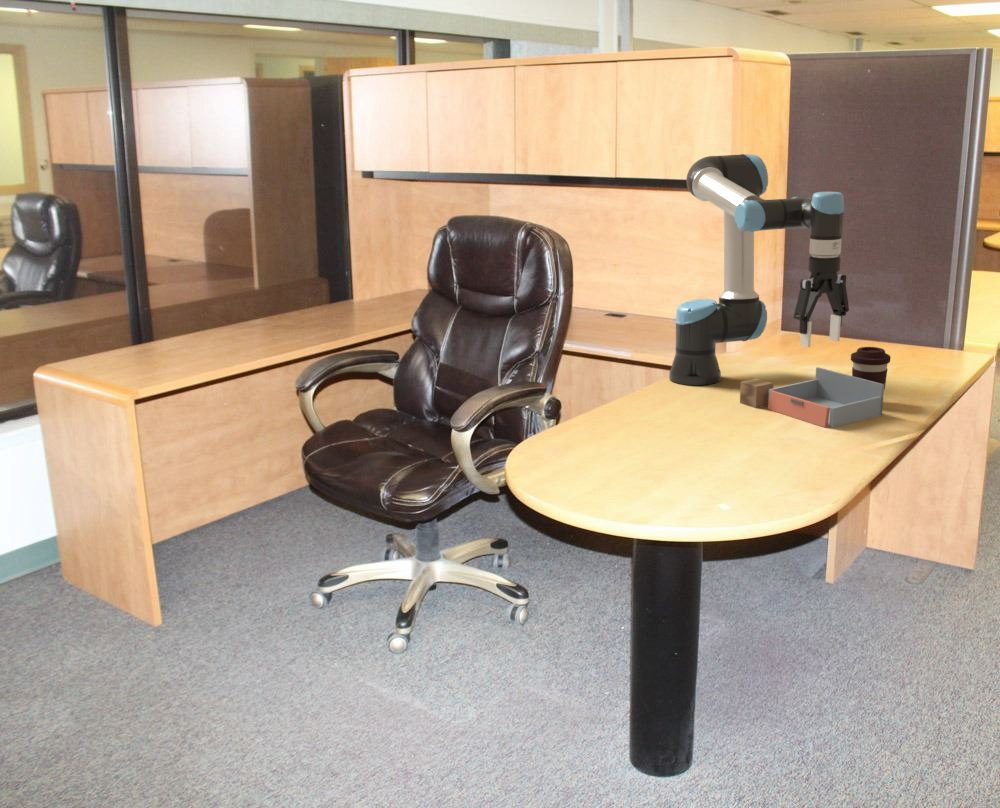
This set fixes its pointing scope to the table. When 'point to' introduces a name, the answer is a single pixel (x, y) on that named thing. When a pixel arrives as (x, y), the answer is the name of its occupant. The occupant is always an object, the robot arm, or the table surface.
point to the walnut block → (755, 392)
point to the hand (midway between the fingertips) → (819, 343)
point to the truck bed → (839, 396)
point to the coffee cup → (870, 364)
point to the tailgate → (799, 408)
